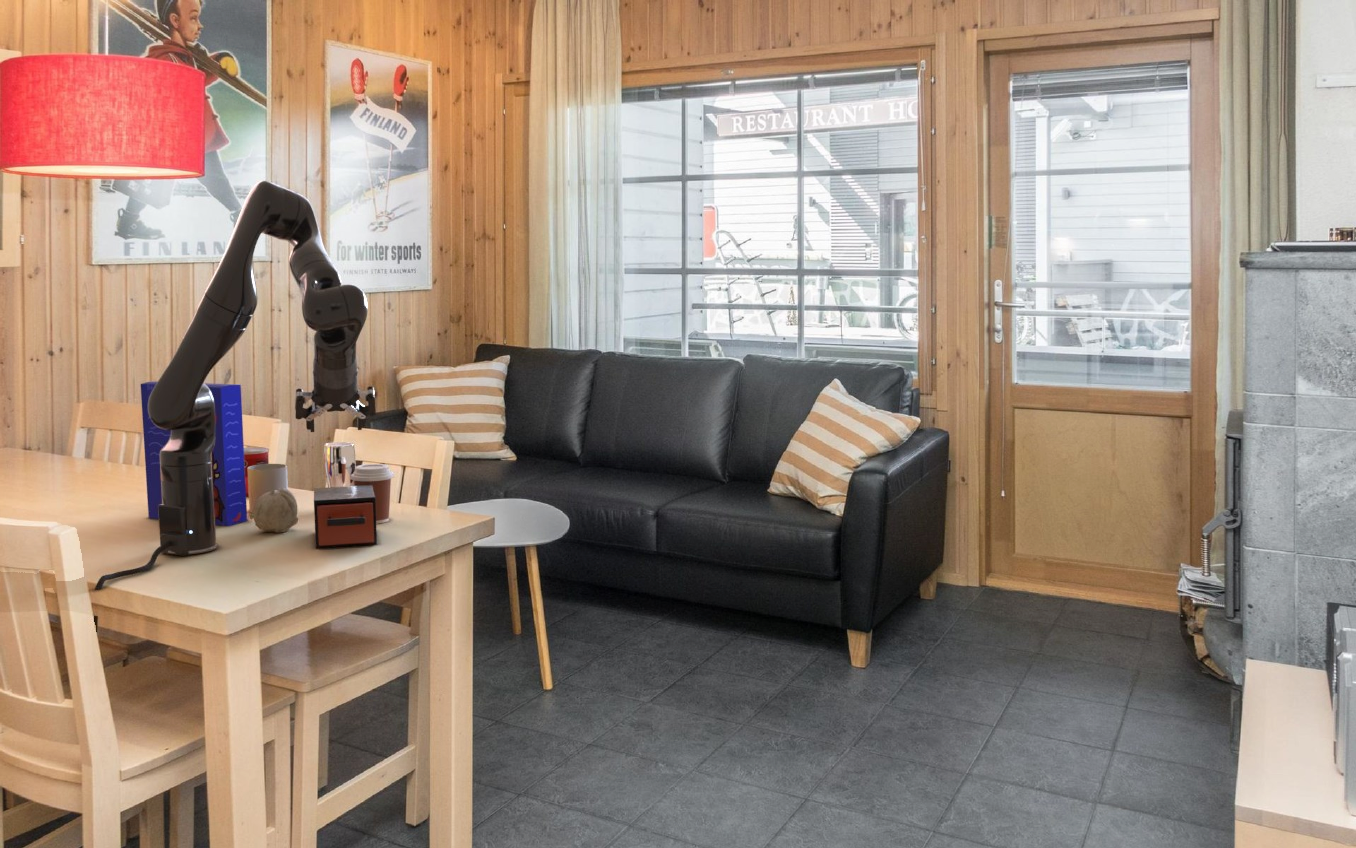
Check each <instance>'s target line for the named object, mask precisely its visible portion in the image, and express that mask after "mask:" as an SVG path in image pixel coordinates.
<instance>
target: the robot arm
mask: <svg viewBox="0 0 1356 848" xmlns="http://www.w3.org/2000/svg"><path fill="white" fill-rule="evenodd" d="M320 231H321V230H320V228H319V223H318V220H317V217H316V214H315V210H314V208H313V206H312V204H311V202H310V200H308V198H307V197H305V196H304V195H302V194H300V193H298V192H296V191H293V190H291V189H289V188H286V187H283V186H281V185H279V184H277V183H274V182H271V181H269V180H261V181H259V182H257V183H255V185H254V186H253V187H252V189H250V191H249V193H248V195H247V196H246V198H245V201H244V203H243V205H242V208H241V210H240V213H239V215H238V218H237V221H236V223H235V225H234V228H233V231H232V234H231V236H230V239H229V242H228V244H227V247H226V249H225V251H224V253H223V256H222V258H221V260H220V262H219V264H218V265H217V268H216V270H215V272H214V274H213V276H212V278H211V280H210V282H209V283H208V285H207V286H206V289H205V291H204V293H203V294H202V297H201V299H200V301H199V303H198V305H197V308H196V310H195V311H194V315H193V317H192V319H191V321H190V323H189V325H188V327H187V329H186V331H185V333H184V335H183V337H182V339H181V341H180V343H179V345H178V347H177V349H176V352H174V353H175V354H174V355H173V357H172V358H171V360H170V362H169V363H168V365H167V366H166V367H165V369H164V371H163V373H162V374H161V376H160V378H159V379H158V380H157V381H158V382H157V384H156V385H155V387H154V388H153V390H152V392H151V394H150V397H149V401H148V413H149V417H150V419H151V421H152V422H153V423H154V424H155V425H156V426H157V427H159V428H161V429H164V430H171V435H170V438H169V440H168V442H167V443H166V445H165V446H164V447H163V448H162V449H161V450H160V472H161V490H162V504H159V505H158V514H159V519H158V527H159V529H158V530H159V531H158V532H159V545H160V546H159V547H157V548H156V549H155V550H154V551H153V553H152V555H151V557H150V559H149V561H148V562H147V563H146V564H144V565H141V566H138V567H136V568H130V569H125V570H121V571H116V572H113V573H108V574H103V575H101V577H100V578H99V579H98V581H97V582H96V584H95V587H94V591H100V590H102V589H103V586H104V584H105V582H106V581H111V580H115V579H118V578H123V577H127V576H133V575H137V574H140V573H143V572H146V571H148V570H150V569H151V568H152V567H153V566H154V565H155V564H156V561H157V559H158V557H159V555H160V554H167V555H171V556H172V555H174V556H179V557H186V556H189V555H198V554H205V553H208V552H211V551H214V550H216V549H217V548H218V543H217V532H216V531H217V530H216V529H217V528H216V525H215V510H214V491H213V472H212V451H213V448H214V445H215V403H214V398H213V395H212V393H211V391H210V389H209V387H208V386H207V385H206V384H205V383H206V382H205V381H206V379H207V377H208V376H209V374H210V372H211V371H212V369H214V368H215V366H216V365H217V364H218V363H219V362H220V361H221V360H223V358H224V357H225V356H226V355H227V354H228V353H229V352H230V350H231V349H232V348H233V347H235V345H236V344H237V343H238V342H239V340H240V339H241V338H242V336H243V335H244V333H245V332H246V330H247V327H248V326H249V324H250V322H251V319H252V318H253V315H254V314H255V311H256V309H257V307H258V299H259V298H258V297H259V296H258V288H257V282H256V276H255V270H254V269H255V268H254V253H255V249H256V245H257V244H258V241H259V238H260V237H261V234H264V235H266V236H269V237H272V238H274V239H277V240H280V241H285V242H288V243H289V244H291V245H292V246H293V248H292V250H291V252H290V254H289V257H288V266H289V270H290V273H291V275H292V277H293V279H294V282H295V283H296V285H297V286H298V288H299V290H300V295H301V314H302V318H303V322H304V323H305V325H306V326H307V327H308V328H309V329H310V330H312V331H314V335H313V360H312V375H313V389H312V390H311V392H310V391H304V390H303V389H302V388H296V390H295V400H294V401H295V403H294V410H295V413H294V415H295V419H296V420H302V419H304V420H305V425H306V430H308V431H310V433H315V419H316V418H317V417H321V416H322V415H323V414H324V413H325V412H327V413H333V412H345V411H347V412H348V413H350V414H351V415H352V416H354V415H355V416H356V424H357V425H356V426H357V430H358V431H362V430H363V428H365V427H366V423H367V422H366V421H367V420H366V419H367V417H375V416H376V415H377V412H376V411H377V410H376V396H375V388H374V386H371V385H370V386H368V387H366V390H365V389H364V390H359V389H358V373H359V370H358V358H357V342H358V339H359V337H360V335H361V332H362V330H363V328H364V327H365V326H364V325H365V324H366V320H367V316H368V311H369V308H368V307H369V304H368V299H367V297H366V296H367V295H366V294H365V292H364V290H362V289H361V287H359V286H358V285H356V284H352V283H345V284H342V278H341V275H340V273H339V271H338V270H337V268H336V266H335V264H334V262H333V260H332V259H331V257H330V256H329V254H328V252H327V250H326V248H325V245H324V242H323V238H322V235H321V234H322V233H321V232H320ZM360 399H363V401H364V402H365V403H366V404H367V405H364V404H363V403H362V402H360V401H359V400H360ZM310 400H311V403H309V405H308V406H306V404H307V403H308V402H309V401H310ZM304 406H306V407H304ZM93 615H94V614H93ZM94 622H95V625H96V632H97V633H98V624H99V616H98V615H94Z"/></svg>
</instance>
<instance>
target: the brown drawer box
mask: <svg viewBox="0 0 1356 848" xmlns="http://www.w3.org/2000/svg"><path fill="white" fill-rule="evenodd" d="M317 513H318V537H319V546H324V545H339V544H354V543H369V542H374V526H373V503H372V502H370V503H369V502H368V501H367V502H350V503H332V504H321V505H318V506H317Z"/></svg>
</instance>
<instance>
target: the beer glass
mask: <svg viewBox="0 0 1356 848" xmlns="http://www.w3.org/2000/svg"><path fill="white" fill-rule="evenodd" d="M356 464H357V460H356V450H355V443H354V442H351V441H336V442H335V441H334V442H328V443H324V445H323V470H324V475H325V481H326V484H327V487H345V486H355V483H354V480H351V474H353V473H354V472H355V471H356V470H355V467H357V465H356Z"/></svg>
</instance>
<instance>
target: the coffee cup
mask: <svg viewBox="0 0 1356 848" xmlns="http://www.w3.org/2000/svg"><path fill="white" fill-rule="evenodd" d="M394 475H395V474H394V472H393V471H391V470H390V467H389V465H388V464H384V463H367V464H359V465H356V467H355V472H354V473H353V474H351V480H354V486H364V485H372V487H373V491H374V494H375V503H376V525H378V524H383V523H387V522H389V521H390V504H391V502H390V501H391V486H392V483H391V482H392V479H393V478H395V476H394Z"/></svg>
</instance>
